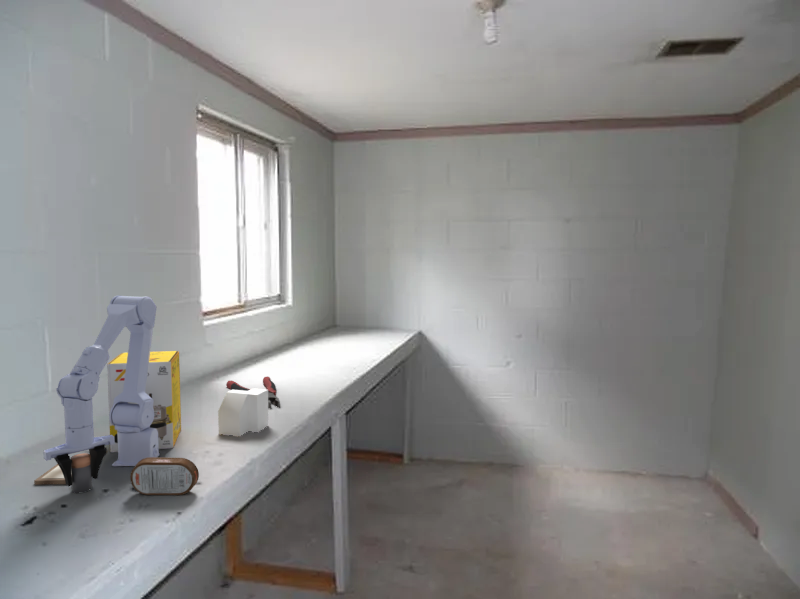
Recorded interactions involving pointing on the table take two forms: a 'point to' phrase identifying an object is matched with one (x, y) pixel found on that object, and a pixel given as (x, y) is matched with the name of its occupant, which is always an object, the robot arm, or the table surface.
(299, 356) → the table surface
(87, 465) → the gray and tan capsule
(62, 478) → the brown picture frame
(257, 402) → the corner bracket
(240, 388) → the pliers
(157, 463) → the tin
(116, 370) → the packaging box
